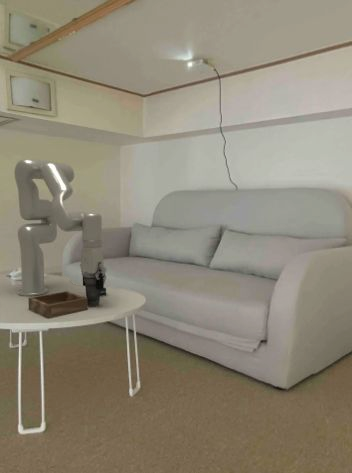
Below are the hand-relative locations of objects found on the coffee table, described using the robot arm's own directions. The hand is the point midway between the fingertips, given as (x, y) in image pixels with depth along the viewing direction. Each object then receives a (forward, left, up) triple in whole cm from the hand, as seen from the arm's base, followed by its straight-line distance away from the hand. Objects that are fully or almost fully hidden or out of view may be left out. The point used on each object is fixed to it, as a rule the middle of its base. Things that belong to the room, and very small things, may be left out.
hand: (93, 287), depth 149 cm
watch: (-13, +11, -8) cm, 19 cm away
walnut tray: (-4, -13, -7) cm, 15 cm away
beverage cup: (0, 0, -8) cm, 8 cm away
